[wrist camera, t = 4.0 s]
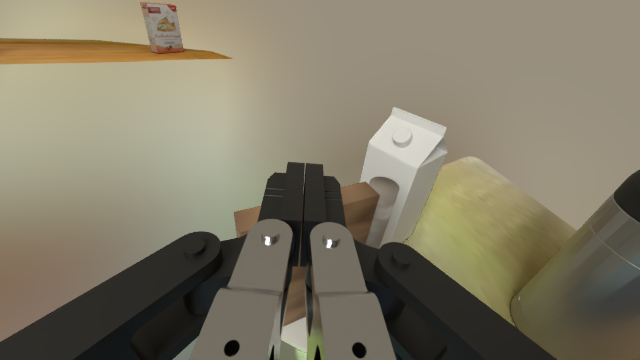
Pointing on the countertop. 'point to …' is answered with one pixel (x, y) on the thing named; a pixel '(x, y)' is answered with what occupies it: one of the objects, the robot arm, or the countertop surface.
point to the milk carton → (406, 166)
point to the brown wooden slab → (361, 220)
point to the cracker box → (162, 27)
